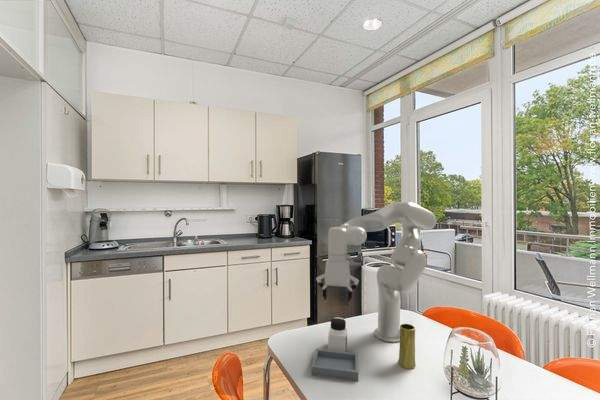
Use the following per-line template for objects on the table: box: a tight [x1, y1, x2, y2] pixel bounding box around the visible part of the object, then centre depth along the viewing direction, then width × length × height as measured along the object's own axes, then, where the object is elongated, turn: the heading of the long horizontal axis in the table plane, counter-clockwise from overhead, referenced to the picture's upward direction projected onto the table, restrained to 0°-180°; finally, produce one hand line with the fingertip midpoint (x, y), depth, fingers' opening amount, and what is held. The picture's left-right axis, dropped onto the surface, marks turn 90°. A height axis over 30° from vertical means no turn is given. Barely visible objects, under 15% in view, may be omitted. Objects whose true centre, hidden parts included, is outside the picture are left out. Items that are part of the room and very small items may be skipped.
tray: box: [311, 348, 360, 382], centre depth 105 cm, size 16×12×3 cm
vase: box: [397, 323, 416, 370], centre depth 108 cm, size 6×6×14 cm
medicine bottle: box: [327, 317, 348, 352], centre depth 119 cm, size 7×7×12 cm
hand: (337, 299), depth 118 cm, fingers open, 9 cm apart
